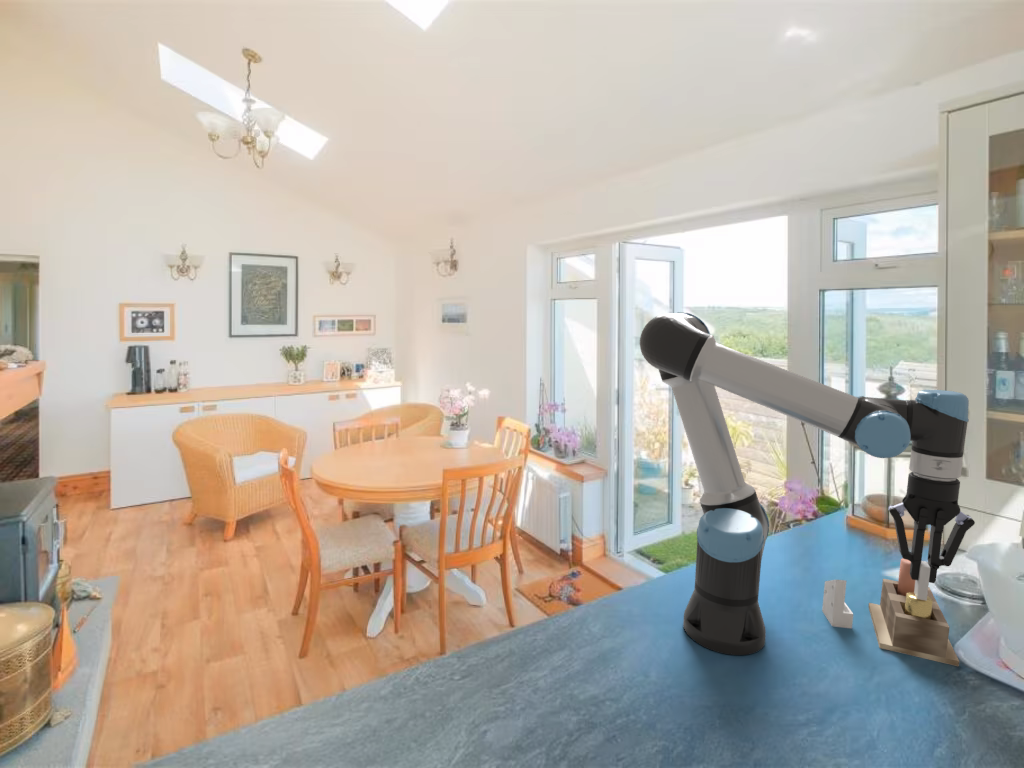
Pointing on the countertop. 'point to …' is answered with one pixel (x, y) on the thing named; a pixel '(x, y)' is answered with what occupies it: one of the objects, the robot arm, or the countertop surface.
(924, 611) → the brass plug
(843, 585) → the white wedge bracket
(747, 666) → the countertop surface
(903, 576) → the red plug
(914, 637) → the socket block
